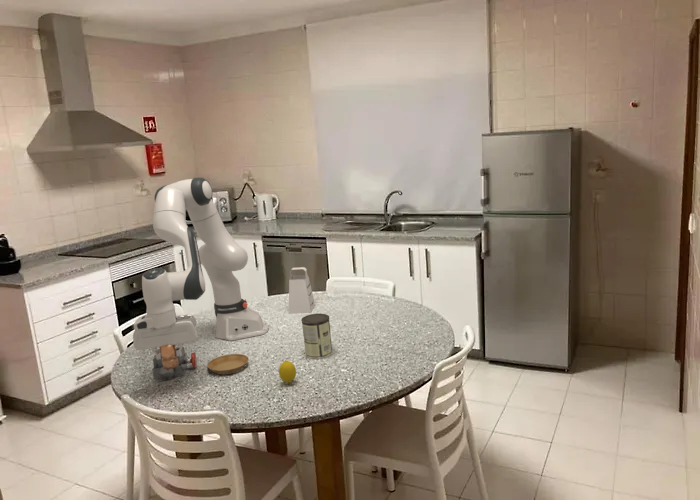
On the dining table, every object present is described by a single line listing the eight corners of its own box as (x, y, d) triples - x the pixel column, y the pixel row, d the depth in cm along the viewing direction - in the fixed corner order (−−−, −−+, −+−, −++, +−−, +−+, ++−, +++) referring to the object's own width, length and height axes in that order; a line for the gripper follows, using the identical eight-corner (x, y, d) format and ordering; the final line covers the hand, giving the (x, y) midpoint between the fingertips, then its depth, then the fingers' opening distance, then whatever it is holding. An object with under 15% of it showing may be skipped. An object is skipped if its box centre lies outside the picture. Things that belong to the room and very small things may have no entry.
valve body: (161, 364, 214) (158, 346, 212) (199, 359, 215) (196, 341, 214) (152, 382, 198) (149, 363, 197) (193, 376, 200) (190, 358, 198)
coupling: (179, 361, 192) (175, 339, 190) (177, 368, 187) (173, 345, 185) (164, 364, 191) (160, 342, 189) (162, 370, 186) (157, 347, 184)
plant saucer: (214, 361, 213) (213, 355, 212) (253, 359, 212) (252, 352, 211) (203, 378, 198) (202, 371, 198) (244, 375, 198) (243, 368, 197)
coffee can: (311, 347, 217) (307, 312, 214) (336, 349, 214) (333, 313, 211) (300, 358, 208) (296, 322, 205) (326, 360, 204) (323, 323, 202)
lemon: (280, 380, 191) (278, 358, 189) (297, 378, 191) (294, 356, 189) (280, 387, 185) (277, 365, 184) (297, 385, 186) (294, 363, 184)
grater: (293, 306, 271) (289, 266, 267) (315, 305, 269) (311, 265, 265) (288, 313, 261) (284, 271, 256) (310, 313, 259) (306, 270, 255)
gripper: (195, 310, 189) (202, 348, 193) (132, 319, 187) (140, 358, 190) (193, 316, 183) (200, 356, 186) (128, 326, 181) (136, 365, 184)
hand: (169, 357), depth 188 cm, fingers closed on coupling, 5 cm apart
